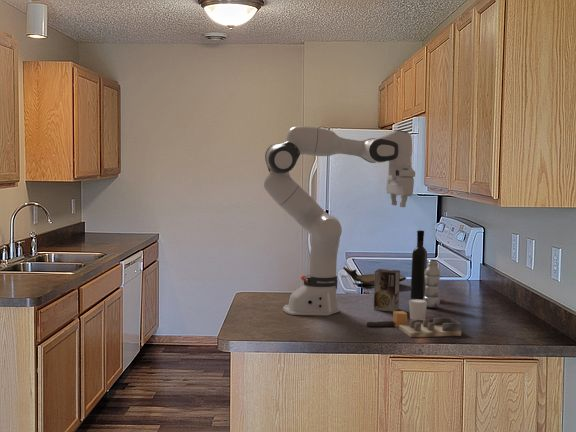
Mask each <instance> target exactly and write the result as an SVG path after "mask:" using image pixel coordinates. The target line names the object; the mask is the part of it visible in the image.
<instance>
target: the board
mask: <svg viewBox="0 0 576 432" xmlns="http://www.w3.org/2000/svg"><path fill="white" fill-rule="evenodd" d="M398 329H399V330H400V331H401V332H402V333H404V334H405V335H406V336H408V337H409V338H427V337H429V338H430V337H453V336H454V337H455V336H457V337H458V336H459V337H460V336H462V322H460V321H459V320H456V319H454V318H452V317H434V318H433V319H432V321H431V322H430V319H426V318H425V319H424V320H422V323H421V322H417V320H413V319H410V320H409V324H407V325H399V327H398Z"/></svg>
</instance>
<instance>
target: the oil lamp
mask: <svg viewBox="0 0 576 432" xmlns="http://www.w3.org/2000/svg"><path fill="white" fill-rule="evenodd" d="M343 270H344V271H345V273H347V274H348V275H349V276H350V278H351V279H353V280H354V281H355V282H360V283H362V284H364V285H366V286H370V287H373V288H374V286H375V273H368V274H367V273H366V274H357V269H349V268H348V267H345V266H344V267H343ZM405 280H407V277H405V275H401V274H400V281H399V283H400V282H403V281H405Z"/></svg>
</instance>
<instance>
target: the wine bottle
mask: <svg viewBox="0 0 576 432" xmlns="http://www.w3.org/2000/svg"><path fill="white" fill-rule="evenodd" d="M416 233H417V234H416V236H417V237H416V241H417V242H416V247H415V248H414V249H413V251H412V256H411V258H412V259H411V274H410V275H411V279H410V280H411V281H410V299H421V300H423V299H424V294H425V276H424V272H425V269H426V268H427V267H428V251H427V250H426V248H425V247H424V238H425V230H420V229H419V230H417V231H416Z"/></svg>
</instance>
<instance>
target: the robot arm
mask: <svg viewBox="0 0 576 432" xmlns="http://www.w3.org/2000/svg"><path fill="white" fill-rule="evenodd" d="M340 154H341V155H348V156H354V157H359V158H361V159H362V160H364V161H366V162H367V163H370V164H376V163H379V164H380V163H385V162H388V176H387V179H386V187H385V188H386V193H387V194H389V195H390V199H391V206H397V205H398V201H397V196H400V198H401V199H400V203H399V206H400V208H406V206H407V201H408V197H412V196H413V194H414V186H415V178H416V171H415V170H414V169H413V167H412V160H411V159H412V154H413V139H412V135H411V134H410V132H408V131H405V130H400V129H394V130H392V131H391V132H389V133H388V134H384V135H383V136H381V137H377V138H375V137H372V138H368V139H364V140H358V139H357V140H356V139H350V138H343V137H341V136H339V135H338V134H336V132H335V131H332V130H329V129H327V128H323V127H317V126H307V125H306V126H305V125H304V126H303V125H301V126H300V125H299V126H292V127H291V128H290V129H289V130H288V132H287V134H286V139H285V141H284V142H283V143H280V142H278V143H274V144H271V145H270V146H269V147H268V148H267V149H266V151H265V154H264V157H265V159H264V160H265V164H266V166H267V170H268V172H269V174H268V175H267V176H266V178H265V179H264V183H263V186H264V189H265V191H266V192H267V193H268V195H269V197H271V198H272V199H273V201H274V202H275V203H276V204H277V205H278V206H280V208H282V209H283V210H284V211H285V212H286V213H287V214H288V215H290V217H291V218H292V219H293V220H294V221H295V222H297V223H298V225H300V227H302V228H303V229H304V231H305V232H307V233H308V235H310V236H311V238H312V242H311V248H310V252H309V256H308V275H305V274H302V275H300V279H301V281H303V284H302V285H301V286H299V288H297V289H296V290H294V291H293V292H292V293H291V294H290V295H289V300H288V304H285V305H284V306H283V308H282V310H283V311H284V313H286V314H288V315H292V316H325V317H326V316H330V315H333V314H337V313H338V312H340V308H339V302H338V297H337V290H338V275H337V261H338V253H339V252H338V251H339V247H340V241H341V235H342V232H343V230H342V225H341V223H340V221H339V220H338V219H337V218H336V217H335V216H334V215H333V216H332V215H330V214H329V213H327V212H326V211H325V210H324V209H323V207H321V205H320V204H318V203H317V201H316V200H315V199H314V198H313V197H312V196H311V195H310V194H309V193H308V192H307V190H305V189H303V188H302V186H301V185H299V184H298V183H297V181H295V180H294V179H293V178H292V177H291V174H290V172H291V171H292V170H293V169H294V167H295V166H296V164H297V162H298V159H299V158H300V155H307V156H315V157H330V156H334V155H340Z"/></svg>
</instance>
